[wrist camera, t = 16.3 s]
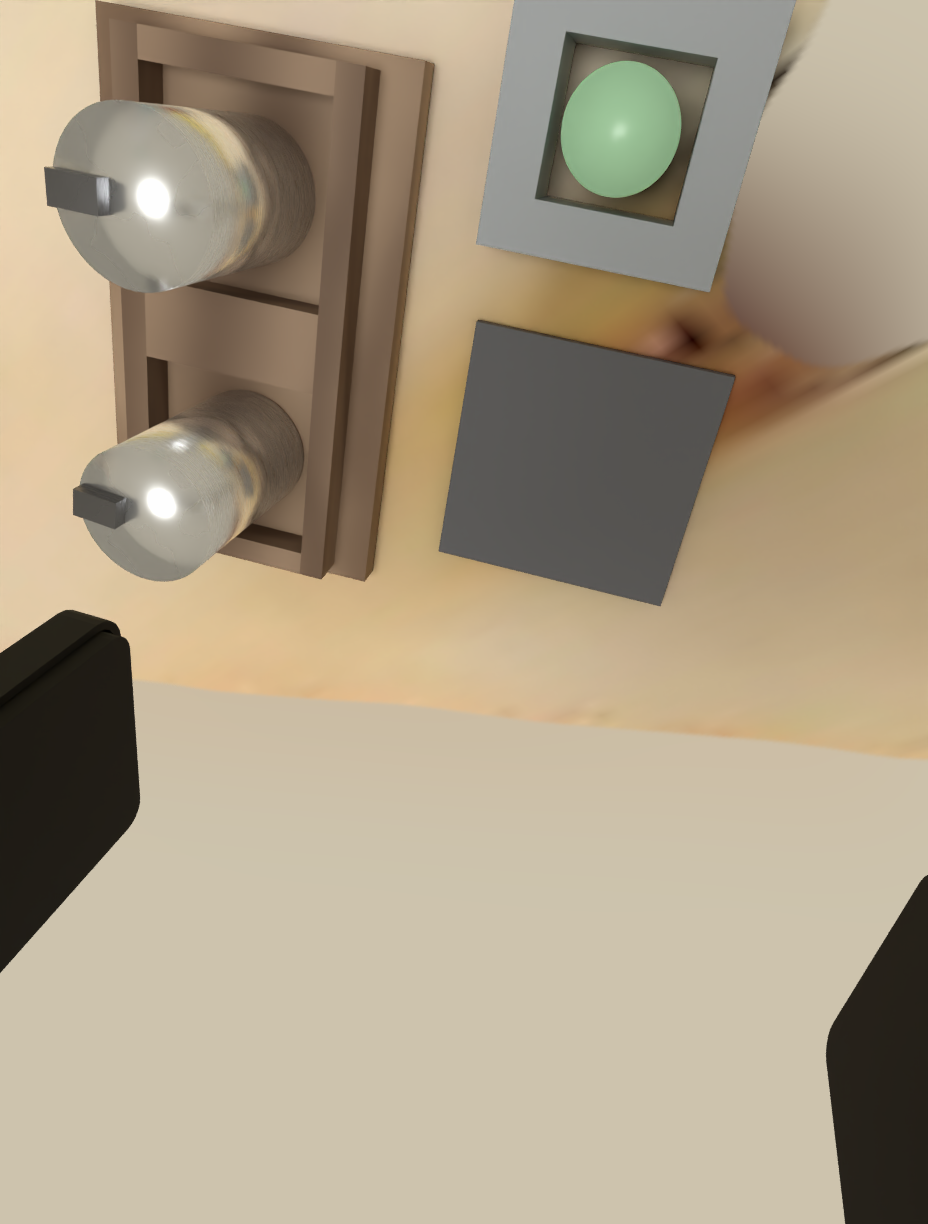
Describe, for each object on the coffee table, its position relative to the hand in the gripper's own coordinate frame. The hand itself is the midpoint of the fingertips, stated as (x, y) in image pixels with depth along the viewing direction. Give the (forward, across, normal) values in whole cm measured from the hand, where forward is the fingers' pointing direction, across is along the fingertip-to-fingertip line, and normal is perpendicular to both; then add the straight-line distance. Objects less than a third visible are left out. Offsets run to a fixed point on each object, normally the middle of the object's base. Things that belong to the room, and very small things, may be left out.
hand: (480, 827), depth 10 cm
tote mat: (+26, +2, +5) cm, 26 cm away
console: (+26, +3, -7) cm, 27 cm away
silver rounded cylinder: (+24, +16, +6) cm, 29 cm away
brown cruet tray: (+25, +16, +2) cm, 30 cm away
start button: (+27, +3, -7) cm, 28 cm away
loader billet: (+24, +16, -4) cm, 29 cm away
